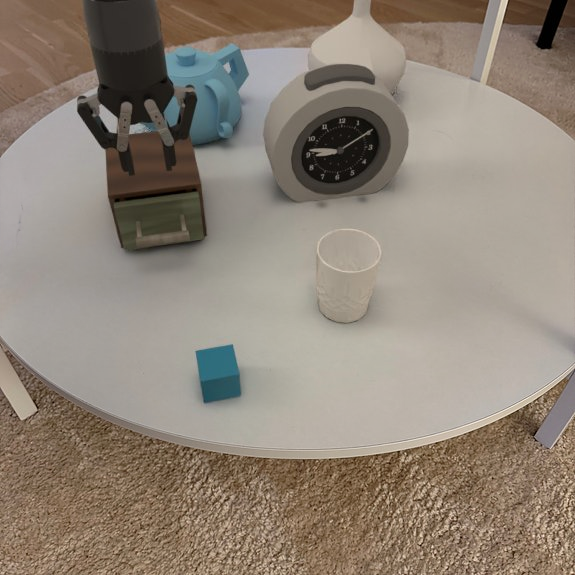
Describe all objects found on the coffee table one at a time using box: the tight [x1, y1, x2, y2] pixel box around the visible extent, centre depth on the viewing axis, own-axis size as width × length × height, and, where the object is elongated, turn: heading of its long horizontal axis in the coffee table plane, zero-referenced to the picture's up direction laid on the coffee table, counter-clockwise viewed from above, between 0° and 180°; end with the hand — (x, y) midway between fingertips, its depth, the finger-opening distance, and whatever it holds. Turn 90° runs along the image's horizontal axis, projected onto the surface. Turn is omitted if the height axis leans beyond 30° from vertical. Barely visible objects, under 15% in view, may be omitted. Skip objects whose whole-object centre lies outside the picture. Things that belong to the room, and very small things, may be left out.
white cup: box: [316, 228, 383, 324], centre depth 77 cm, size 8×8×10 cm
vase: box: [307, 0, 407, 95], centre depth 111 cm, size 18×18×19 cm
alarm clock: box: [262, 64, 410, 203], centre depth 92 cm, size 21×8×20 cm, turn 102°
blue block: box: [194, 343, 242, 404], centre depth 70 cm, size 4×4×4 cm
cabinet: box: [104, 131, 208, 249], centre depth 90 cm, size 15×13×10 cm
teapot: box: [140, 43, 250, 146], centre depth 106 cm, size 19×19×14 cm
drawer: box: [114, 189, 205, 251], centre depth 87 cm, size 18×11×8 cm, turn 13°
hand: (150, 169), depth 75 cm, fingers open, 4 cm apart
